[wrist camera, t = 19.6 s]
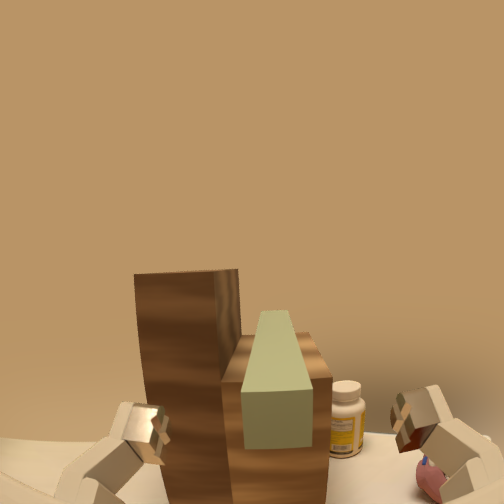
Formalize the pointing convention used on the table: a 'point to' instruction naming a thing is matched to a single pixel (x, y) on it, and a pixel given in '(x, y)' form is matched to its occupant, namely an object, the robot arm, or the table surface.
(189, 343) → the pedestal
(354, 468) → the table surface
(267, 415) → the bar
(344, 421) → the supplement bottle
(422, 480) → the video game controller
